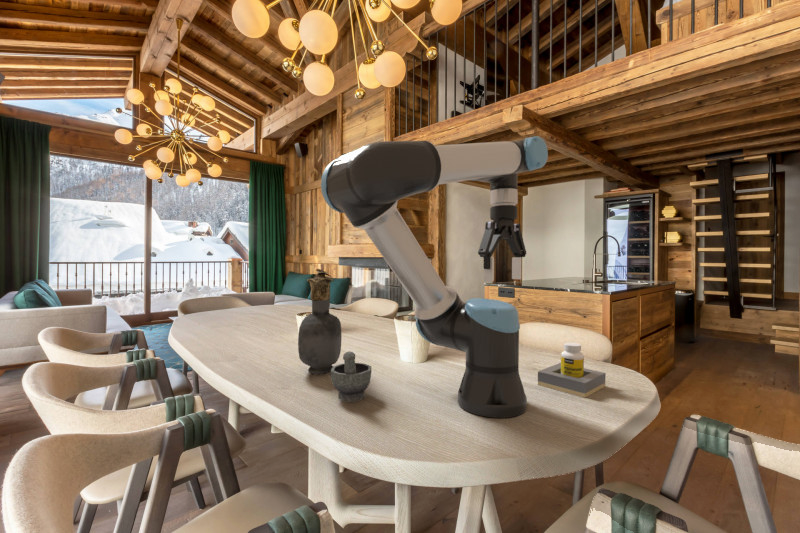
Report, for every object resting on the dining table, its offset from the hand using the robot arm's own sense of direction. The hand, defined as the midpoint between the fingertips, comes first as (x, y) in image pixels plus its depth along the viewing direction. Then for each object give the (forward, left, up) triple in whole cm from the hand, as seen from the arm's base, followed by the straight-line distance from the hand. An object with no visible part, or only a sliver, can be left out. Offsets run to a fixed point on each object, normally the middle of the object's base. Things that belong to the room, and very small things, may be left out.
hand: (503, 280), depth 108 cm
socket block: (+4, -18, -27) cm, 32 cm away
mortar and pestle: (-44, +12, -27) cm, 53 cm away
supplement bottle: (+4, -18, -26) cm, 32 cm away
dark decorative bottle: (-38, +37, -27) cm, 59 cm away
